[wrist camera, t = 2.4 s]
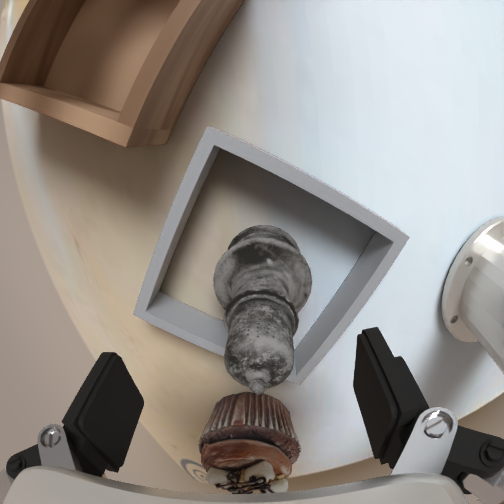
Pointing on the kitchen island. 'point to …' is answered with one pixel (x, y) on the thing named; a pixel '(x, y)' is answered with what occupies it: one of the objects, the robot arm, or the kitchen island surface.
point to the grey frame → (213, 330)
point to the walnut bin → (112, 62)
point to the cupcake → (249, 444)
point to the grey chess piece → (261, 304)
